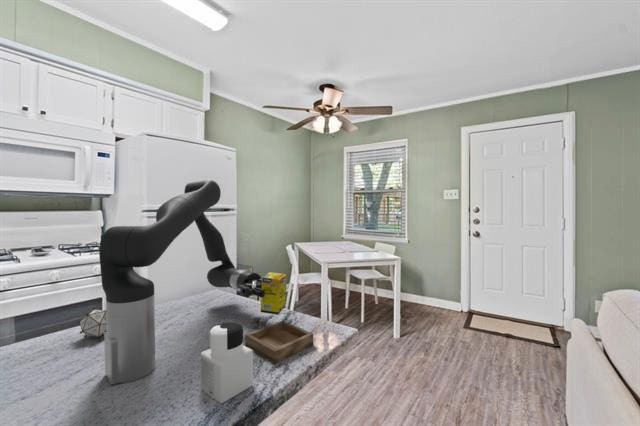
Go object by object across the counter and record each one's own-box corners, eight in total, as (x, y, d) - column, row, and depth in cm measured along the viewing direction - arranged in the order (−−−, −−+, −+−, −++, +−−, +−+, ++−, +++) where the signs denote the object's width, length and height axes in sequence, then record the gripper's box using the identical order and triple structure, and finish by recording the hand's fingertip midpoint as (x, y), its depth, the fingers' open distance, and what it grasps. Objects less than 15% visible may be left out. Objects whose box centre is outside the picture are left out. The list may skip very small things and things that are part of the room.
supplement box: (278, 315, 87) (280, 279, 86) (260, 312, 88) (261, 277, 87) (285, 307, 93) (286, 273, 92) (267, 304, 94) (268, 271, 93)
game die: (92, 348, 86) (87, 315, 89) (123, 334, 88) (117, 303, 92) (71, 346, 78) (67, 310, 81) (106, 331, 80) (100, 297, 84)
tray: (275, 363, 70) (275, 351, 70) (245, 345, 79) (245, 334, 79) (313, 344, 80) (313, 333, 80) (282, 330, 89) (282, 320, 89)
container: (232, 372, 67) (232, 315, 66) (253, 385, 62) (253, 324, 61) (200, 388, 61) (199, 326, 60) (221, 405, 56) (220, 337, 55)
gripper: (226, 274, 96) (255, 283, 84) (262, 268, 106) (292, 275, 95) (226, 297, 96) (255, 309, 85) (262, 288, 106) (292, 298, 95)
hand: (274, 291), depth 90 cm, fingers closed on supplement box, 8 cm apart
